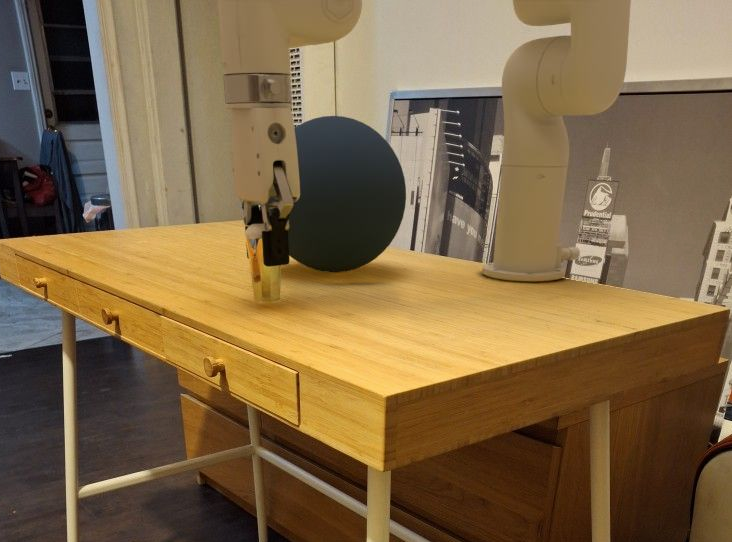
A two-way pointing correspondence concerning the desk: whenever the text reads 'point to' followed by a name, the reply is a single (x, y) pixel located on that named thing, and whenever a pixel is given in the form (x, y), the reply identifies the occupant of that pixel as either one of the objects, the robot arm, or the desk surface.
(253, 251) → the milkshake
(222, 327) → the desk surface
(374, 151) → the ball
